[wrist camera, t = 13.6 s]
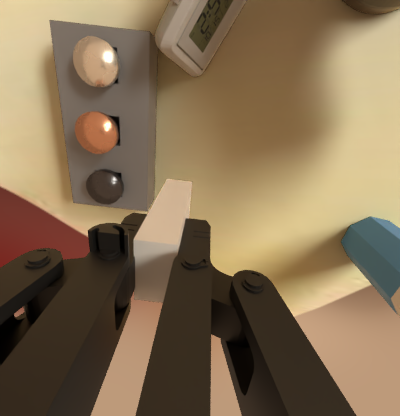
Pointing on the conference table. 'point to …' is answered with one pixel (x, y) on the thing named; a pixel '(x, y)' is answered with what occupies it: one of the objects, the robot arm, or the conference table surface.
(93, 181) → the plunger black
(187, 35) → the digital clock
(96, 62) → the plunger ivory
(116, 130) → the plunger terracotta
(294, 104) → the conference table surface
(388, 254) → the water bottle
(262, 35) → the conference table surface
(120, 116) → the panel
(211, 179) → the conference table surface
